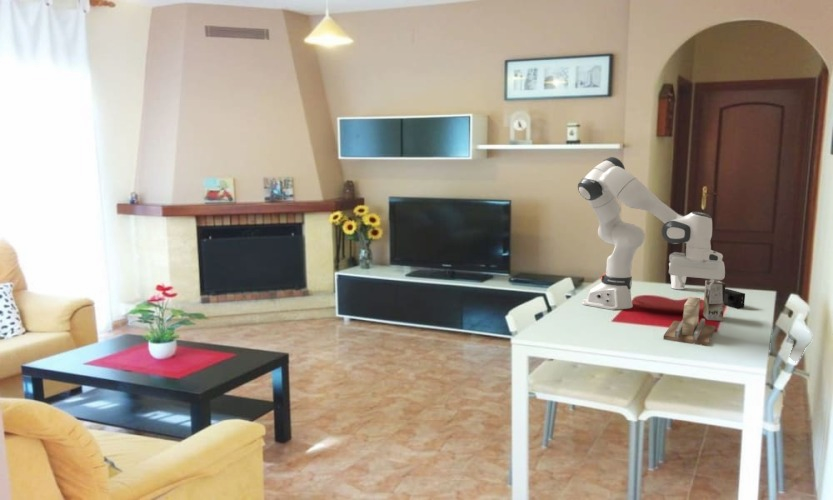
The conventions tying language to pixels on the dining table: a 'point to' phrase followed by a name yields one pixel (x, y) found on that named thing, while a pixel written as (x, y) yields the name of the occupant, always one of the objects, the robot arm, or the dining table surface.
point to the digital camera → (734, 299)
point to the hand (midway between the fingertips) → (695, 288)
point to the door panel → (690, 316)
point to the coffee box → (714, 300)
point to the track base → (699, 337)
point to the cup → (676, 281)
